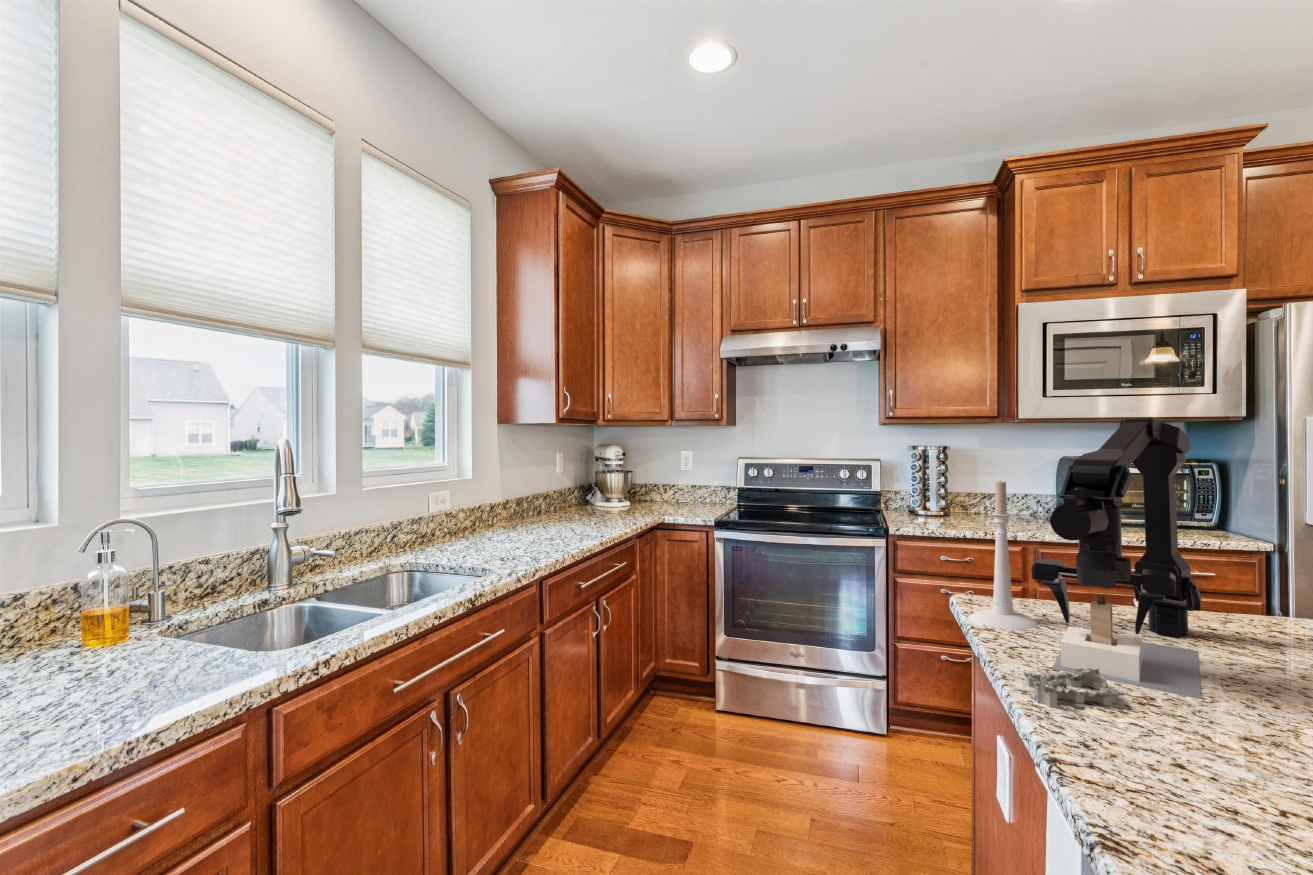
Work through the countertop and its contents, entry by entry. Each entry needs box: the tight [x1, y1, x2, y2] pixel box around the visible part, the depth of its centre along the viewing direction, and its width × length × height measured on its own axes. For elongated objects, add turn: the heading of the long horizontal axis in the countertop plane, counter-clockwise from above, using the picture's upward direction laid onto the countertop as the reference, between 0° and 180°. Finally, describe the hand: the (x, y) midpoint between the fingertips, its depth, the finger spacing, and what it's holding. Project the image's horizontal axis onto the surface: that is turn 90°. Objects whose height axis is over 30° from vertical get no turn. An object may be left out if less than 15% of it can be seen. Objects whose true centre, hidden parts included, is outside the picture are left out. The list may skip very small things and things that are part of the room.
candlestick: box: [967, 480, 1039, 631], centre depth 121 cm, size 13×13×30 cm
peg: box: [1089, 595, 1114, 646], centre depth 97 cm, size 3×3×11 cm
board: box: [1051, 641, 1203, 700], centre depth 99 cm, size 24×18×1 cm
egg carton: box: [1023, 668, 1121, 714], centre depth 87 cm, size 11×8×4 cm
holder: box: [1060, 626, 1143, 682], centre depth 97 cm, size 10×10×4 cm
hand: (1101, 627), depth 97 cm, fingers open, 9 cm apart
